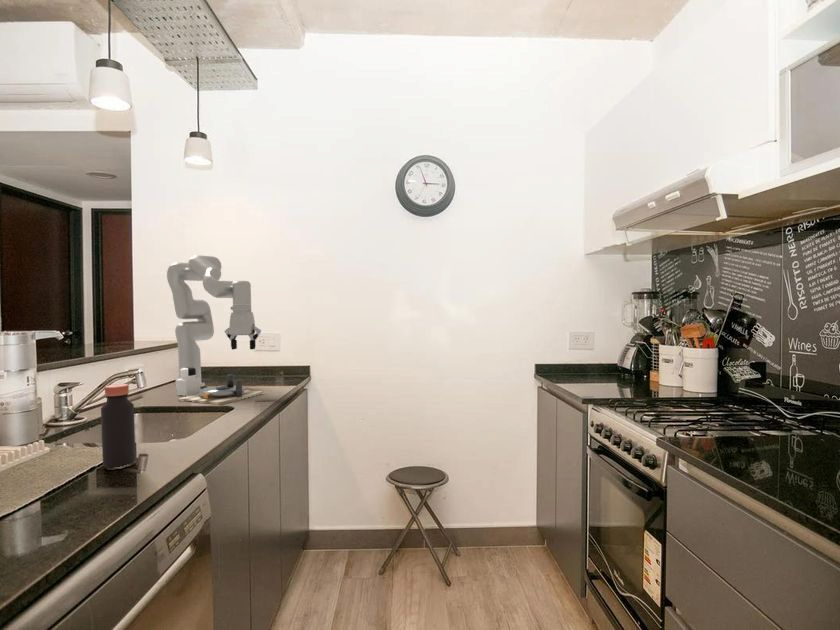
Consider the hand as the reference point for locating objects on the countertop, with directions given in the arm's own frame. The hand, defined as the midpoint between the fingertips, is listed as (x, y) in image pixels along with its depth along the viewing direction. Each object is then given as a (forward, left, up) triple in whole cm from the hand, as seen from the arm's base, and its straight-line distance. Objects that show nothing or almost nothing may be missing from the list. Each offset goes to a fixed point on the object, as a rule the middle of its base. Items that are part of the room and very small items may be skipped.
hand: (243, 348), depth 206 cm
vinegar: (+40, -81, -20) cm, 93 cm away
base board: (-5, -8, -20) cm, 22 cm away
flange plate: (-5, -9, -18) cm, 21 cm away
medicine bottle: (-24, -9, -20) cm, 32 cm away
